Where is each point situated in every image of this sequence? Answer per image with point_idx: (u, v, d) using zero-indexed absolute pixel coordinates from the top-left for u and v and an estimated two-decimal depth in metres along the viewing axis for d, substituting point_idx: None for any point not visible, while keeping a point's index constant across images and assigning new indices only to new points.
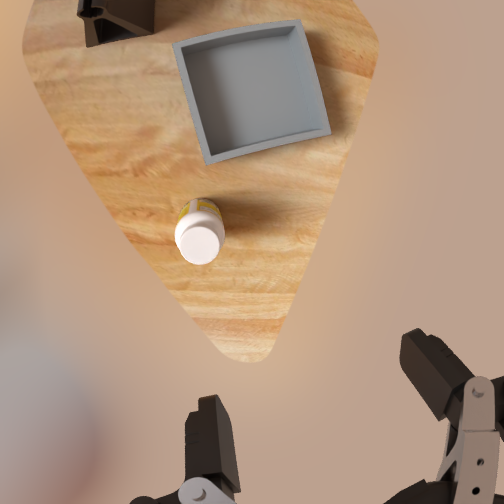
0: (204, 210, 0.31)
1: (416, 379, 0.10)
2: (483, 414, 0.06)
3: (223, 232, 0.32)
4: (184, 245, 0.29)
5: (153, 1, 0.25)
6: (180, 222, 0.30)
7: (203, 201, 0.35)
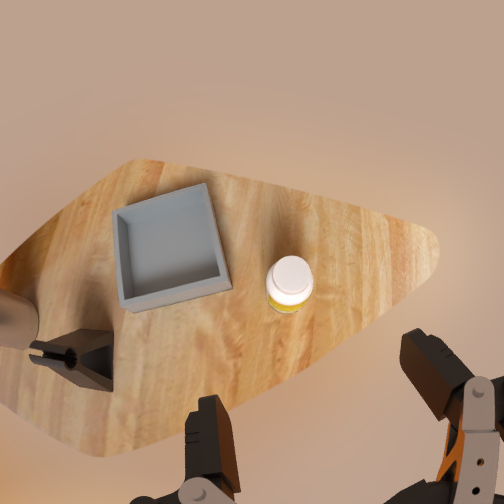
0: None
1: (416, 379, 0.10)
2: (483, 415, 0.06)
3: None
4: (290, 287, 0.30)
5: (84, 329, 0.39)
6: (275, 297, 0.32)
7: None
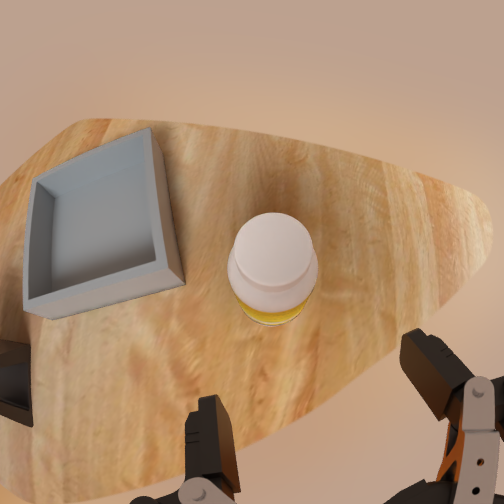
0: None
1: (416, 379, 0.10)
2: (483, 414, 0.06)
3: None
4: (271, 275, 0.14)
5: (0, 340, 0.23)
6: (243, 298, 0.17)
7: None
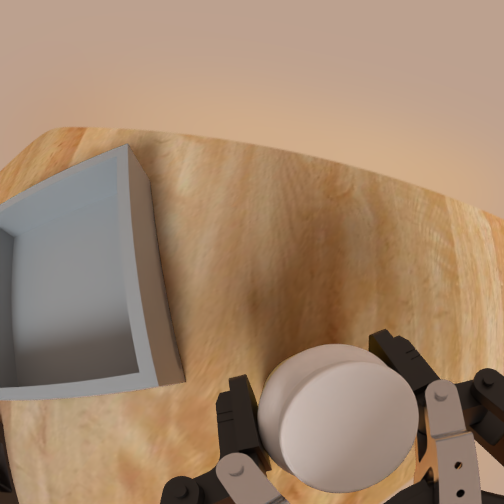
0: (259, 401, 0.10)
1: None
2: (450, 417, 0.07)
3: (322, 348, 0.10)
4: (347, 479, 0.06)
5: None
6: (285, 469, 0.08)
7: None
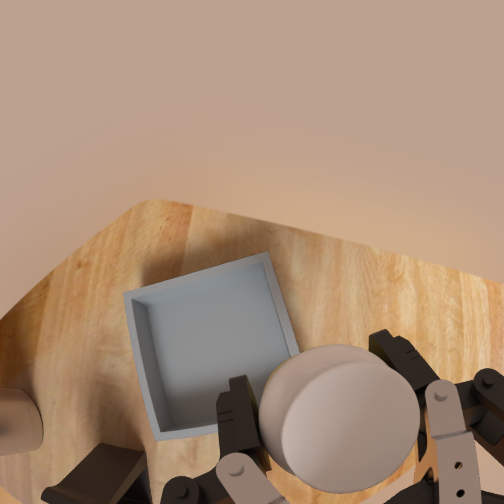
0: (260, 402, 0.10)
1: None
2: (450, 417, 0.07)
3: (323, 349, 0.10)
4: (348, 479, 0.06)
5: (105, 446, 0.25)
6: (286, 469, 0.08)
7: None
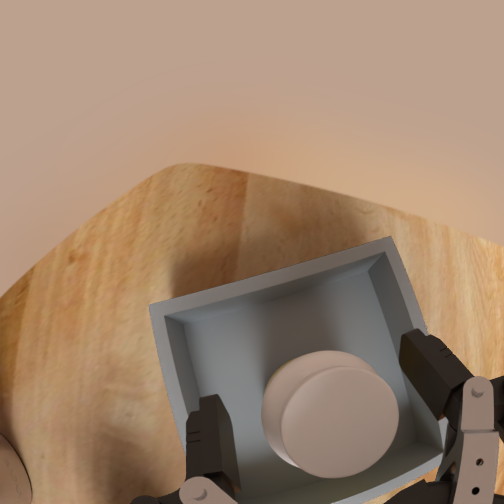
0: None
1: (415, 379, 0.10)
2: (482, 415, 0.06)
3: (317, 355, 0.11)
4: (337, 466, 0.07)
5: None
6: (285, 459, 0.10)
7: None
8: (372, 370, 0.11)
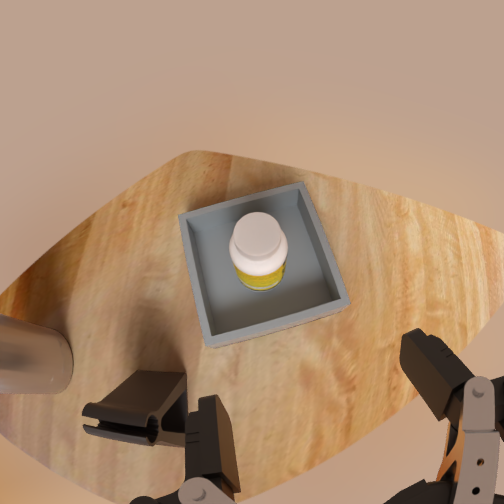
0: None
1: (416, 379, 0.10)
2: (483, 414, 0.06)
3: None
4: (255, 249, 0.24)
5: (143, 371, 0.31)
6: (239, 266, 0.27)
7: None
8: None
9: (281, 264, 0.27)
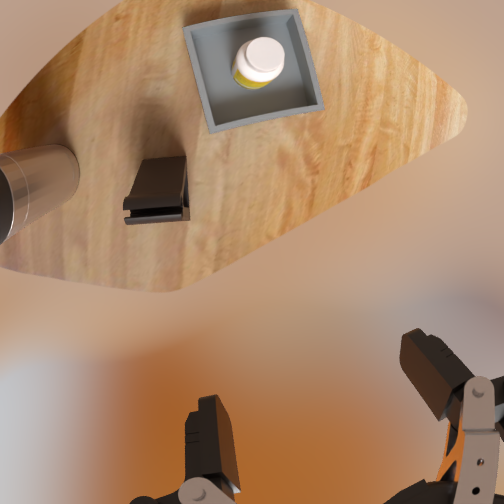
0: (236, 55, 0.28)
1: (416, 379, 0.10)
2: (483, 415, 0.06)
3: None
4: (263, 65, 0.26)
5: (149, 160, 0.37)
6: (245, 74, 0.28)
7: None
8: None
9: None
